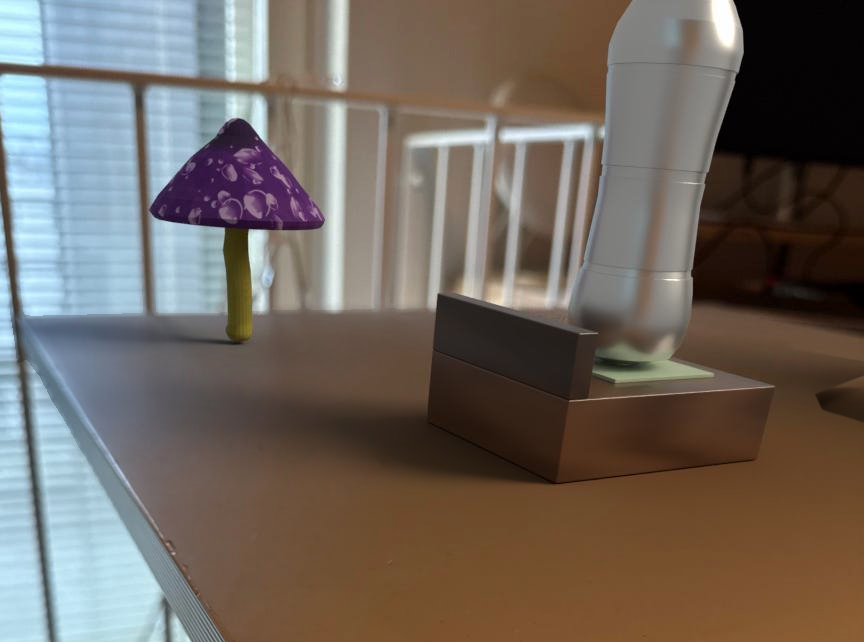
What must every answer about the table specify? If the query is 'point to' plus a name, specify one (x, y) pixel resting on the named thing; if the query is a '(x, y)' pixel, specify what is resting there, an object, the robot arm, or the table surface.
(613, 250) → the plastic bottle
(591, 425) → the metal stand with backrest
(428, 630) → the table surface
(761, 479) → the table surface
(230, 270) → the decorative mushroom
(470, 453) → the table surface
